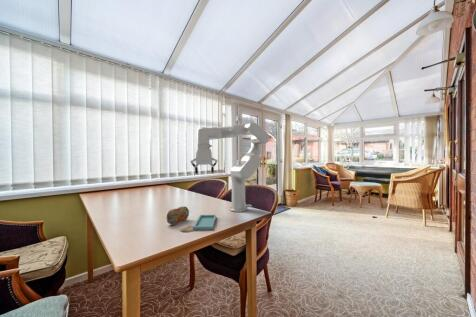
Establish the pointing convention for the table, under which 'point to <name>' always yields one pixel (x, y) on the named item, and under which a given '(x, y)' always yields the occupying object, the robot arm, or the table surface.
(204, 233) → the table surface
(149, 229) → the table surface
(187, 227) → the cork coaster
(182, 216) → the tin
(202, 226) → the tray
